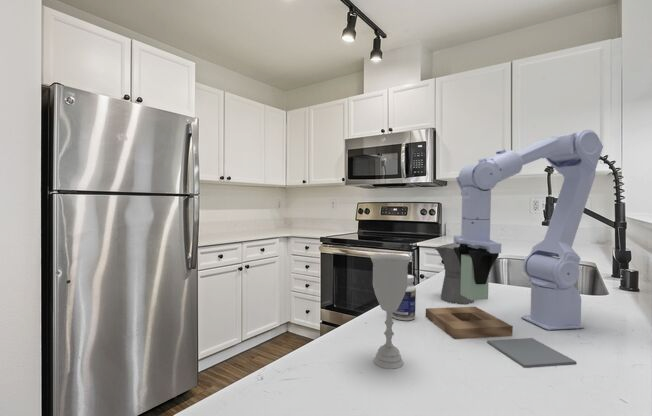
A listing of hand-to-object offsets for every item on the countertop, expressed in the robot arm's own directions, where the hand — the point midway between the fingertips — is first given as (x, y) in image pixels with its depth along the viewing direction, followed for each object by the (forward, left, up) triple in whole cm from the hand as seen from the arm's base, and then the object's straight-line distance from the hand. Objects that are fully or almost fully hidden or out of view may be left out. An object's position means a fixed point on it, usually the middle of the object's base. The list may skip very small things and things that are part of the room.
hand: (474, 281), depth 73 cm
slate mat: (-3, +12, -10) cm, 16 cm away
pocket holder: (+1, -2, -10) cm, 11 cm away
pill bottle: (+13, -9, -11) cm, 19 cm away
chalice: (+24, +12, -11) cm, 29 cm away
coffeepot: (-9, -21, -11) cm, 25 cm away
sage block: (0, 0, -3) cm, 3 cm away
